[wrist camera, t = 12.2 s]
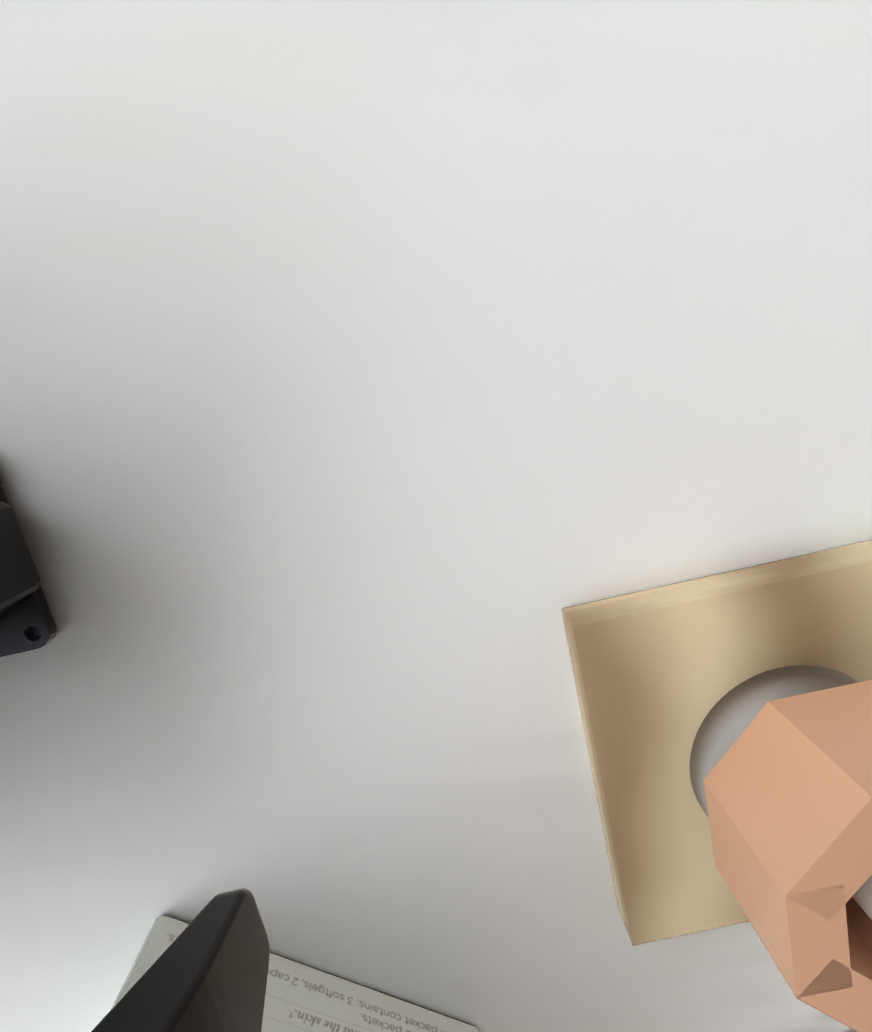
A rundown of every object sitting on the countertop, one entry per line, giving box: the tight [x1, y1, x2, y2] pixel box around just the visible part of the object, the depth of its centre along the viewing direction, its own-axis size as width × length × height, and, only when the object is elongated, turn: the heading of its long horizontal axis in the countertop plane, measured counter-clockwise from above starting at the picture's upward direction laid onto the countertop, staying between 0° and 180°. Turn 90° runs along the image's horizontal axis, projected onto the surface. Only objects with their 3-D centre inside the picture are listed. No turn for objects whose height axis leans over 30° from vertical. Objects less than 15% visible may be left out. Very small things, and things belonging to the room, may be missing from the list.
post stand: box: [562, 540, 872, 945], centre depth 17 cm, size 12×12×8 cm
